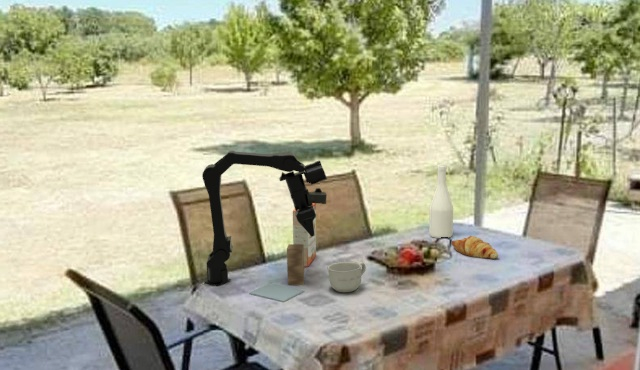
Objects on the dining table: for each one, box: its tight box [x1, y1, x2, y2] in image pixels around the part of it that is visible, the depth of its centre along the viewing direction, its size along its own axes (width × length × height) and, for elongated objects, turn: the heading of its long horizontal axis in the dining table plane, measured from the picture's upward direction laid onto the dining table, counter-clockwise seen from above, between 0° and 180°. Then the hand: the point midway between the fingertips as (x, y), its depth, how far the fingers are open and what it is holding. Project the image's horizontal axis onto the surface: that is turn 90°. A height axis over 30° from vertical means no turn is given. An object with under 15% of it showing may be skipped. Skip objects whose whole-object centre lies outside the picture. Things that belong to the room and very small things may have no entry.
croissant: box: [451, 235, 499, 260], centre depth 245 cm, size 21×10×8 cm, turn 40°
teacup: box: [327, 261, 367, 293], centre depth 211 cm, size 14×11×8 cm
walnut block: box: [286, 243, 305, 286], centre depth 217 cm, size 5×5×12 cm
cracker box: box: [292, 203, 317, 268], centre depth 239 cm, size 14×6×21 cm, turn 168°
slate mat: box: [248, 282, 306, 303], centre depth 209 cm, size 14×11×1 cm
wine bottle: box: [428, 163, 454, 239], centre depth 268 cm, size 10×10×30 cm
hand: (312, 232), depth 220 cm, fingers open, 9 cm apart
